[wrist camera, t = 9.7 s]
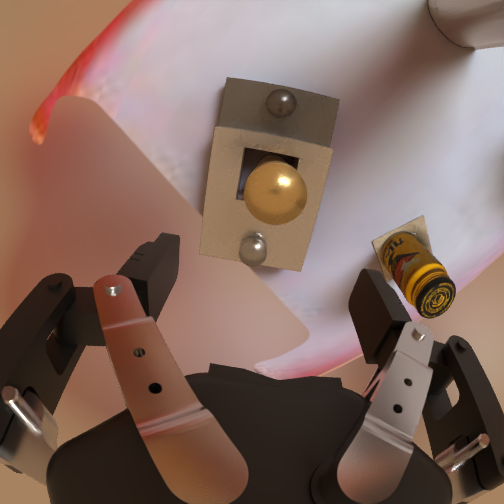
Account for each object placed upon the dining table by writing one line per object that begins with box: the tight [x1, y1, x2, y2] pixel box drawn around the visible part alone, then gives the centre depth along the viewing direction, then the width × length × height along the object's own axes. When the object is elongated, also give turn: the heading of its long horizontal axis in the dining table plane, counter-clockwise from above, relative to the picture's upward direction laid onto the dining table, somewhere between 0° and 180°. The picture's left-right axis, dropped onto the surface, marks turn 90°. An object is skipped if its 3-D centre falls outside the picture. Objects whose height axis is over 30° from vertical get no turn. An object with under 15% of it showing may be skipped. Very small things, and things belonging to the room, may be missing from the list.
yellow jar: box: [372, 215, 456, 318], centre depth 29 cm, size 7×8×12 cm
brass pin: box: [244, 155, 308, 225], centre depth 27 cm, size 5×5×10 cm
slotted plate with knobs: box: [199, 77, 339, 272], centre depth 29 cm, size 12×20×6 cm, turn 170°
